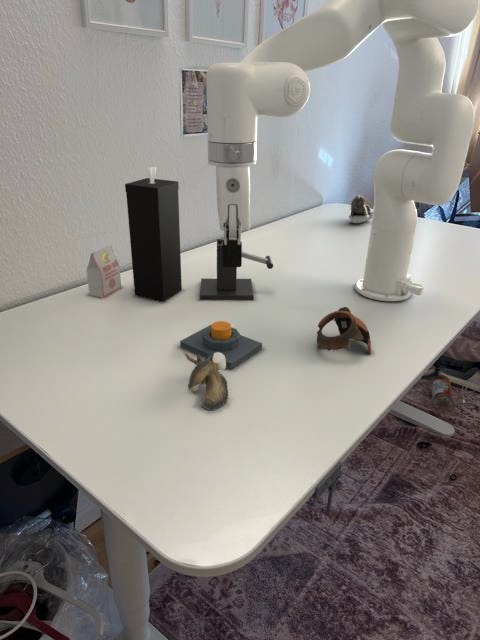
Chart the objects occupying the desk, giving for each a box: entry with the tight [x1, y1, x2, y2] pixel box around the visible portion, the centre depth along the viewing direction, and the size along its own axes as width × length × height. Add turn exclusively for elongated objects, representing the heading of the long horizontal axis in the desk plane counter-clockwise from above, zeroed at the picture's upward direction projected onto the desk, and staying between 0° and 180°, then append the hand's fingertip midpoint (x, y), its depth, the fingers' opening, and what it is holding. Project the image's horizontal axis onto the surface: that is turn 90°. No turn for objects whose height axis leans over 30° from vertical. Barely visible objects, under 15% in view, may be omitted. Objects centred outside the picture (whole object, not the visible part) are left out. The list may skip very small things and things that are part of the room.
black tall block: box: [124, 166, 183, 303], centre depth 103 cm, size 8×8×28 cm
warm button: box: [210, 320, 232, 340], centre depth 86 cm, size 4×4×2 cm
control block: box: [179, 323, 263, 370], centre depth 87 cm, size 12×9×3 cm
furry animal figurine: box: [184, 352, 229, 412], centre depth 74 cm, size 8×7×9 cm
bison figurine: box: [348, 195, 373, 224], centre depth 166 cm, size 12×7×10 cm, turn 148°
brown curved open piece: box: [316, 306, 372, 355], centre depth 88 cm, size 12×10×8 cm
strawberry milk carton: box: [86, 244, 122, 299], centre depth 107 cm, size 4×7×10 cm, turn 156°
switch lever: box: [222, 242, 274, 270], centre depth 107 cm, size 12×5×2 cm, turn 92°
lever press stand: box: [199, 238, 254, 301], centre depth 108 cm, size 12×10×12 cm
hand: (232, 265), depth 82 cm, fingers closed
